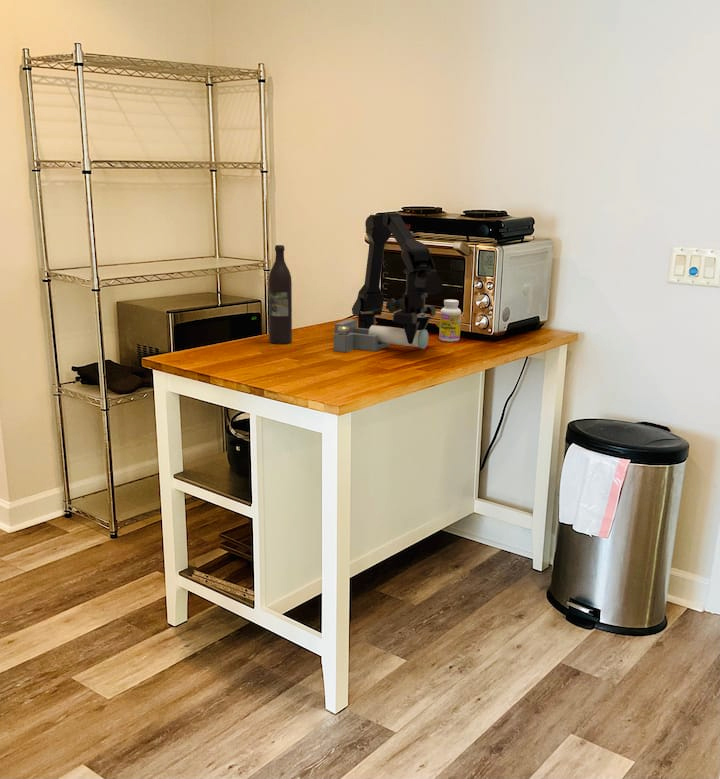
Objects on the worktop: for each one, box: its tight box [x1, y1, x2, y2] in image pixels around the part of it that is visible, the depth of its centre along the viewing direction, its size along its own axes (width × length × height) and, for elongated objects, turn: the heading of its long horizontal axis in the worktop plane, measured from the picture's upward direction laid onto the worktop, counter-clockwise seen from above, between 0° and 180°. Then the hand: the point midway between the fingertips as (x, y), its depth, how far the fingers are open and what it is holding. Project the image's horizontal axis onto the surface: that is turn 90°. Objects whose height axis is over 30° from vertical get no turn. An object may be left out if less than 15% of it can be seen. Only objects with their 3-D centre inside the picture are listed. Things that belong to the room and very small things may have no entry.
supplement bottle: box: [438, 299, 462, 343], centre depth 260 cm, size 7×7×13 cm
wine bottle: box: [268, 244, 293, 345], centre depth 250 cm, size 7×7×30 cm
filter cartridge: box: [368, 324, 429, 350], centre depth 244 cm, size 6×18×6 cm, turn 63°
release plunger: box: [338, 326, 349, 335], centre depth 243 cm, size 3×3×6 cm
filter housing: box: [333, 318, 390, 353], centre depth 247 cm, size 16×14×7 cm
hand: (413, 342), depth 242 cm, fingers closed on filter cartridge, 5 cm apart
